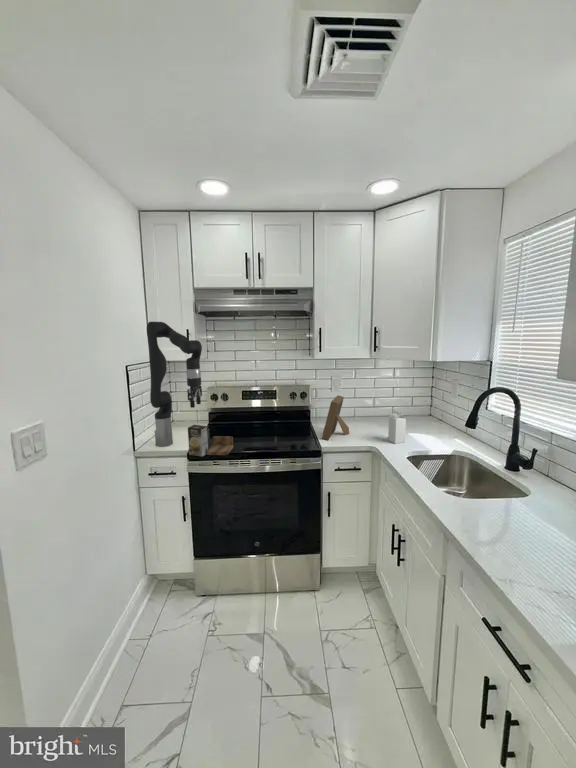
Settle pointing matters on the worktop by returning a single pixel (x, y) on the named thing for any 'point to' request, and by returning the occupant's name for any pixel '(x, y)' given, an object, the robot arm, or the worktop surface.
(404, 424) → the milk carton
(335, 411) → the photo frame
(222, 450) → the ledge
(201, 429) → the coffee box
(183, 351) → the robot arm
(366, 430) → the worktop surface
